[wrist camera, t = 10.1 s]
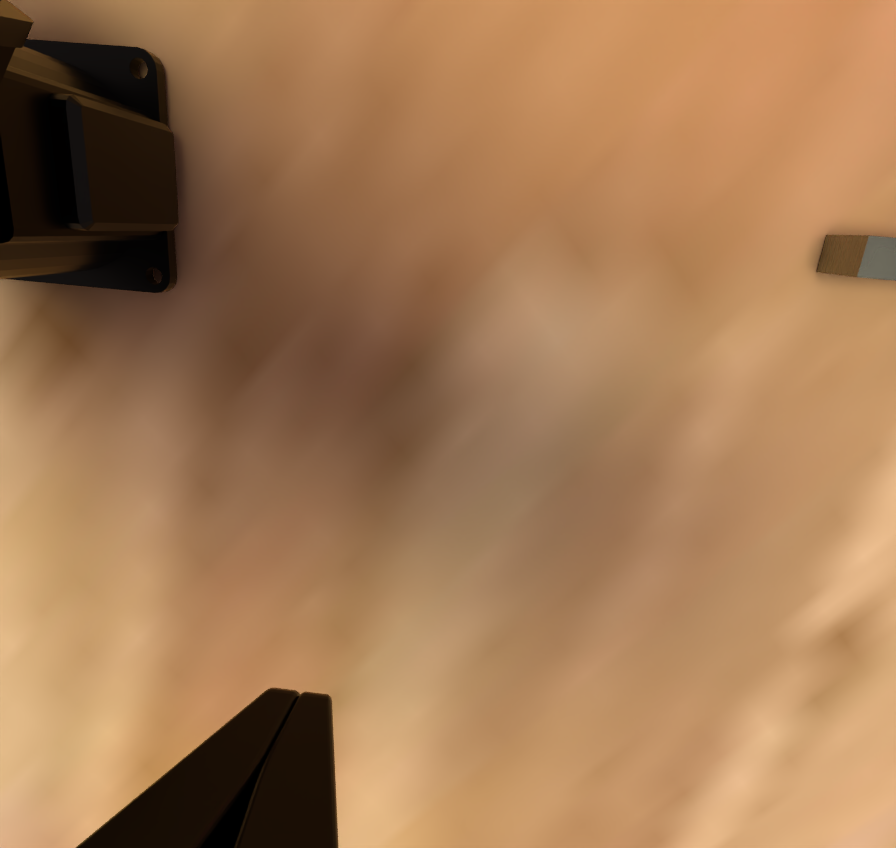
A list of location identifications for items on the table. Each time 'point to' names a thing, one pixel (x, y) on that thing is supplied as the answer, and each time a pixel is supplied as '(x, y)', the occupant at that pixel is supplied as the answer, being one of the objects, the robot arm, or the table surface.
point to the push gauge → (859, 256)
